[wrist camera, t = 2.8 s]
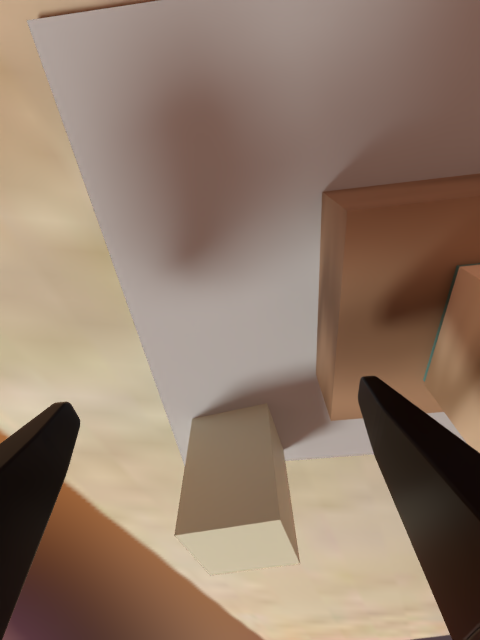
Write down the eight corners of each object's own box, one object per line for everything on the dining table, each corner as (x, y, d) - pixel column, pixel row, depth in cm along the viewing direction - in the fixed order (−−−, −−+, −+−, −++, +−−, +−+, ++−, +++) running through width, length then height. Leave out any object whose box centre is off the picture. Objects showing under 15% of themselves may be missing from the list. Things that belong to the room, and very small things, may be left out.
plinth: (487, 353, 16) (543, 404, 13) (314, 369, 16) (330, 420, 13) (569, 160, 11) (687, 172, 8) (319, 189, 11) (347, 211, 9)
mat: (586, 432, 19) (592, 438, 19) (186, 462, 21) (185, 468, 20) (1027, -127, 8) (1065, -138, 7) (34, 24, 9) (26, 20, 9)
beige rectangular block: (283, 450, 19) (300, 564, 14) (216, 462, 20) (210, 575, 15) (266, 403, 17) (279, 519, 12) (192, 418, 18) (174, 535, 13)
